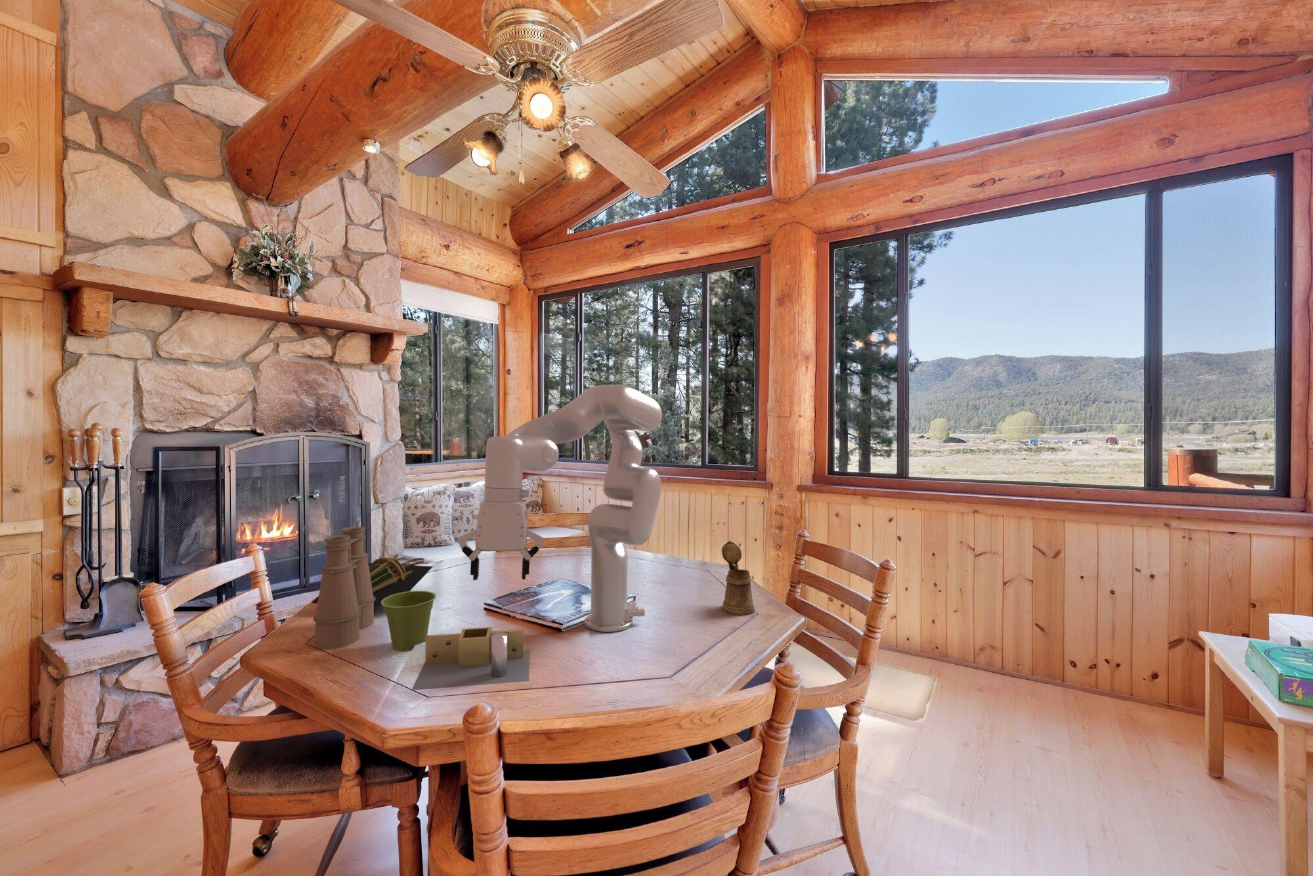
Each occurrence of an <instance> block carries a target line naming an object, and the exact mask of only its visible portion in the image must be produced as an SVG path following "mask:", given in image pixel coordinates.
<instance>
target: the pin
mask: <svg viewBox="0 0 1313 876" xmlns="http://www.w3.org/2000/svg"><path fill="white" fill-rule="evenodd" d="M505 675H507V634H506V633H495V634H493V635H491V676H492V677H495V678H499V677H503V676H505Z"/></svg>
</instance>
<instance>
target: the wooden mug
mask: <svg viewBox="0 0 1313 876" xmlns="http://www.w3.org/2000/svg"><path fill="white" fill-rule="evenodd" d="M721 553H722V558H723V559H724V561H726V562H727V563H728V568H729V570H728V572H727V574H726V576H725V577H726V578H725V582H726V586H725V593H724V600H722V601H723V602H722V609H723V611H724V612H726V613H728V614H731V615H732V614H733V615H738V616H744V615H746V616H747V615H750V614H752V613H755V604H754V603H753V602H754V601H753V592H752V586H751V585H752V583H751V582H752V577H751V575H750V571H749V570H748V569H740V568H739V562H740V560H741V559H742V557H743V556H742V550H741V548H740V547H739V546H738V545H737V544H736V543H735V542H733V541H731V540H729V541H727V542H726V543H725V544H724V545H723V546H722V548H721Z"/></svg>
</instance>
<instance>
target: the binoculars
mask: <svg viewBox="0 0 1313 876" xmlns="http://www.w3.org/2000/svg"><path fill="white" fill-rule="evenodd" d="M341 531H342V533H343V534H338V535H329V536H326V537H324V542H325V543H326V545H325V546H324V547H323V549H324V551H326V564H325V565H323V566H322V567H321V570H320V571H321V579H320V585H319V592H318V596H319V598H318V603H317V605H316V612H315V615H314V616H313V619H312V621H314V623H315V641H314V645H315V648H318V649H323V650H332V649H333V650H334V649H335V650H336V649H339V648H343V647H344V648H345V647H348V646H351V645H353V644H355V643H357V642H358V641H359V640H360V630H365V629H367V628H369V627H372V626H373V624H375V622H374V621H375V618H374V613H375V612H374V611H375V610H374V607H375V606H374V601H375V599H376V598H375V597H374V596H373V591H372V585H371V579H370V572H369V566H368V563H369V561H368V557H369V554H368V553H367V552H364V540H366V537H367V535H365V534H364V532H365V531H366V527H365V526H350V527H349V526H348V527H343V528H342V529H341Z"/></svg>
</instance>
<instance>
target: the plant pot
mask: <svg viewBox="0 0 1313 876" xmlns="http://www.w3.org/2000/svg"><path fill="white" fill-rule="evenodd" d="M436 598H437V595H436V593H435V592H432V591H428V590H411V591H408V592H402V593H398V594H394V595H391V596H388V597H386V598H384V599H383V600H382V601H381V605H382V606H381V607H383V609H384V613H385V616H386V620H387V623H388V629H389V635H390V639H391V645H392V648H393V649H394V650H396V651H399V652H405V651H407V650H412V651H413V650H414V649H415V647H416V646H417V645H420V644H422V643H426V635H429V634H428V632H429V626H430V619H431V614H432V613H431V612H432V609H433V605H434V601H435V599H436Z"/></svg>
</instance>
